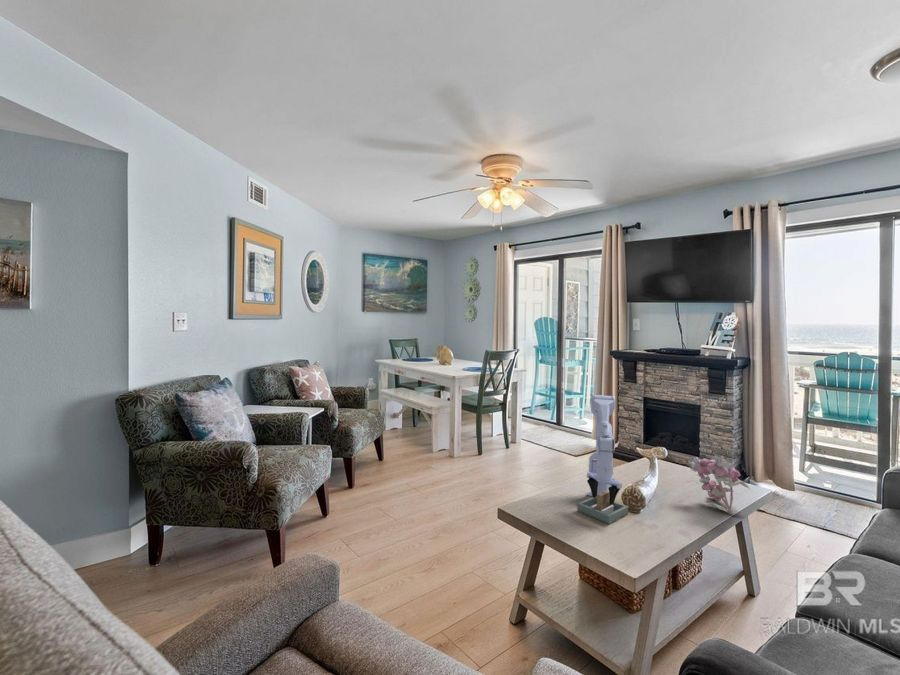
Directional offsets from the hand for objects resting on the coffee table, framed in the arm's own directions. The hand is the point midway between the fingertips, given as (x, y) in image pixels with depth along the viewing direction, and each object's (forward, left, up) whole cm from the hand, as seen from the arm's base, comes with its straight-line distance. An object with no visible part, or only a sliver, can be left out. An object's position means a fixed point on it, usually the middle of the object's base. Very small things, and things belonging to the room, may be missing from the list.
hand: (603, 500), depth 176 cm
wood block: (0, 0, -5) cm, 5 cm away
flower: (-47, +25, -5) cm, 54 cm away
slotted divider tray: (0, 0, -5) cm, 5 cm away
